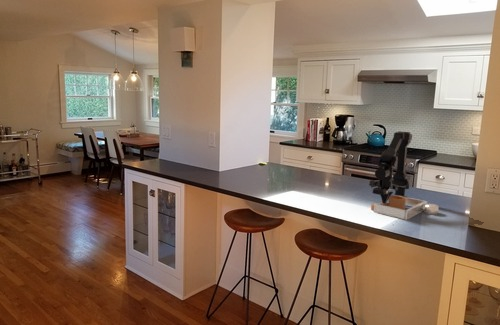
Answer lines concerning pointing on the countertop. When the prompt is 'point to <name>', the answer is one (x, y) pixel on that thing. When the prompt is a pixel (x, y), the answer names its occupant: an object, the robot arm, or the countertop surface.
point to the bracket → (394, 202)
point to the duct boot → (415, 209)
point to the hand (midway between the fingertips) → (384, 204)
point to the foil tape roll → (431, 209)
